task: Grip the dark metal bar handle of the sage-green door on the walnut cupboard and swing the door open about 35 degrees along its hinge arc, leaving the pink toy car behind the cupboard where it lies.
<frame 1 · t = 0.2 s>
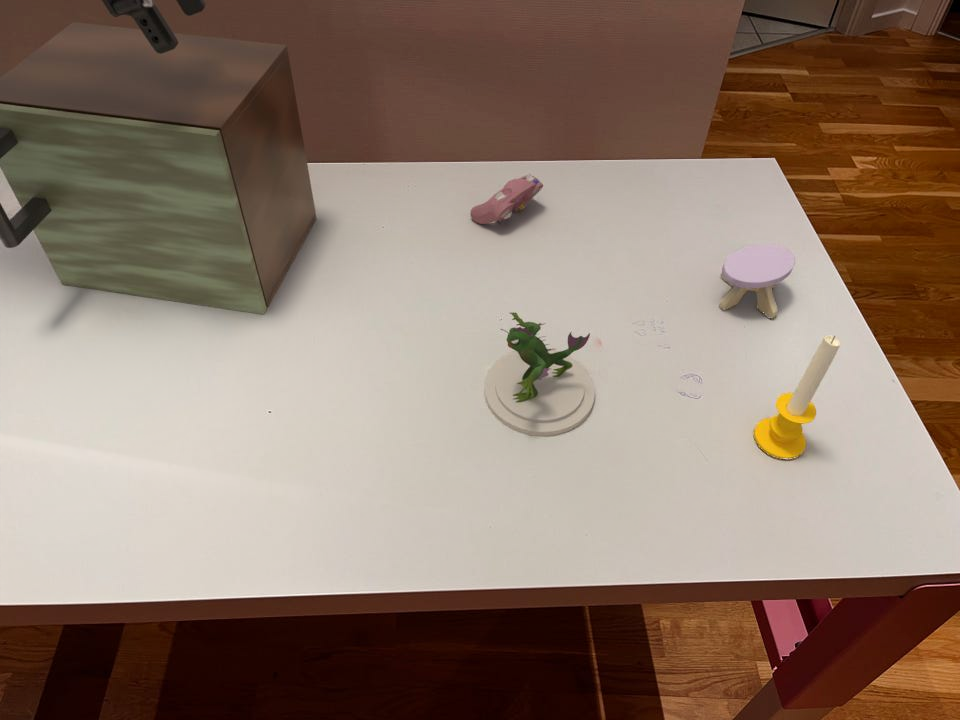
hand: (183, 30, 71), 30 cm above the table, tool tilted 20°, fingers open, 8 cm apart
candle: (778, 440, 77), on the table
toy table: (745, 298, 92), on the table
cupboard door: (115, 235, 79), point 12 cm above the table, hinge at 0.0°
pink toy car: (506, 215, 103), on the table
monster figurine: (538, 393, 81), on the table
cupboard: (198, 247, 96), on the table
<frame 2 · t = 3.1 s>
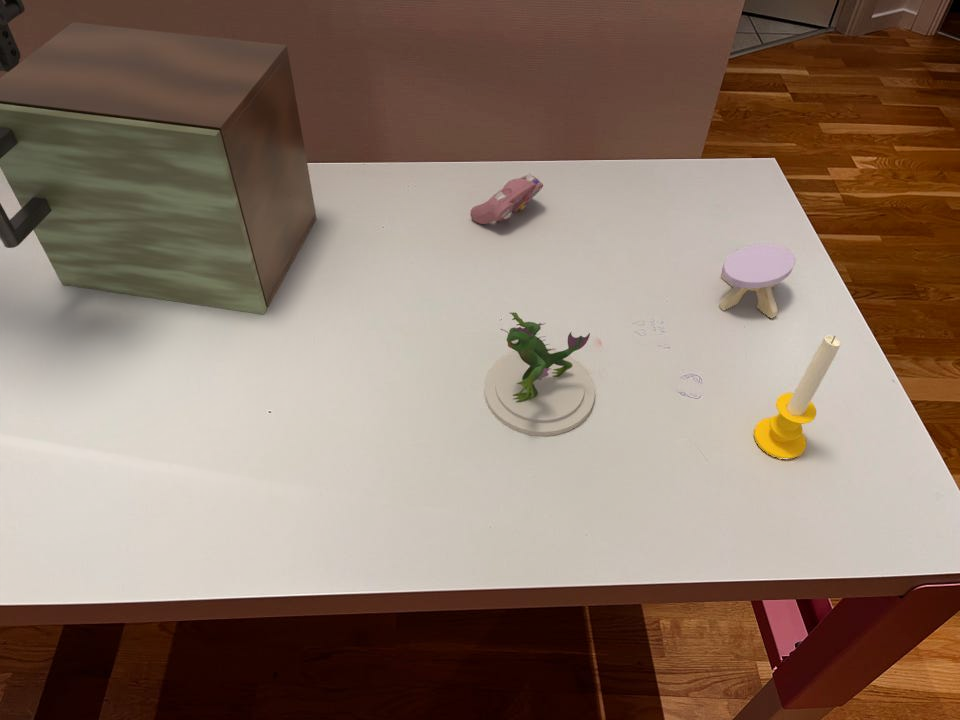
nothing on the table moved.
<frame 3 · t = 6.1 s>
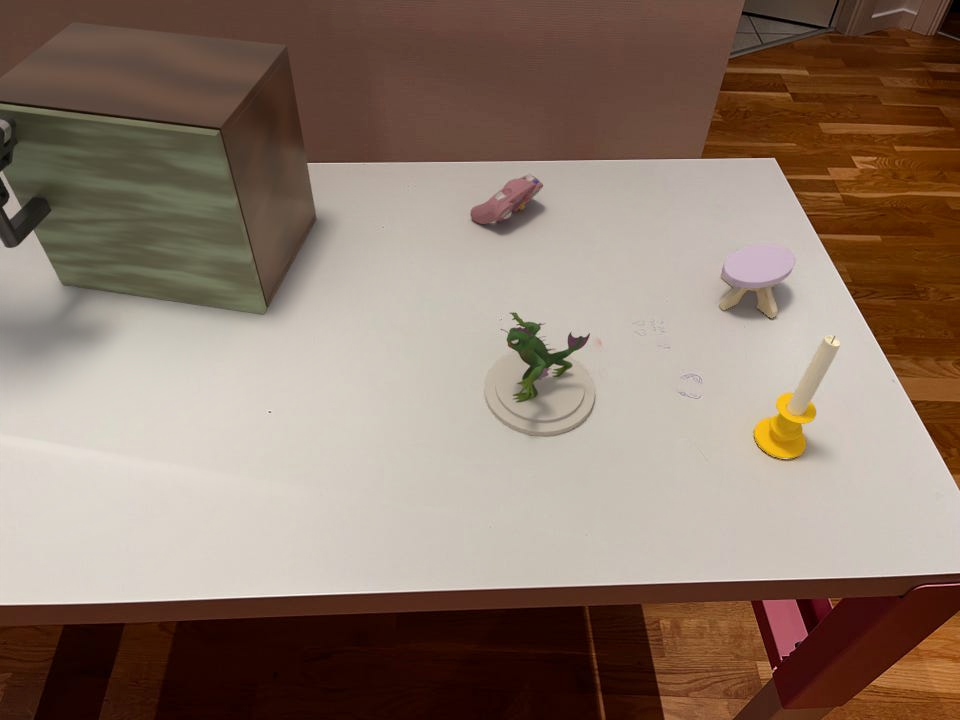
cupboard door: (115, 235, 79), point 12 cm above the table, hinge at 0.0°, touching gripper
everything else where it was.
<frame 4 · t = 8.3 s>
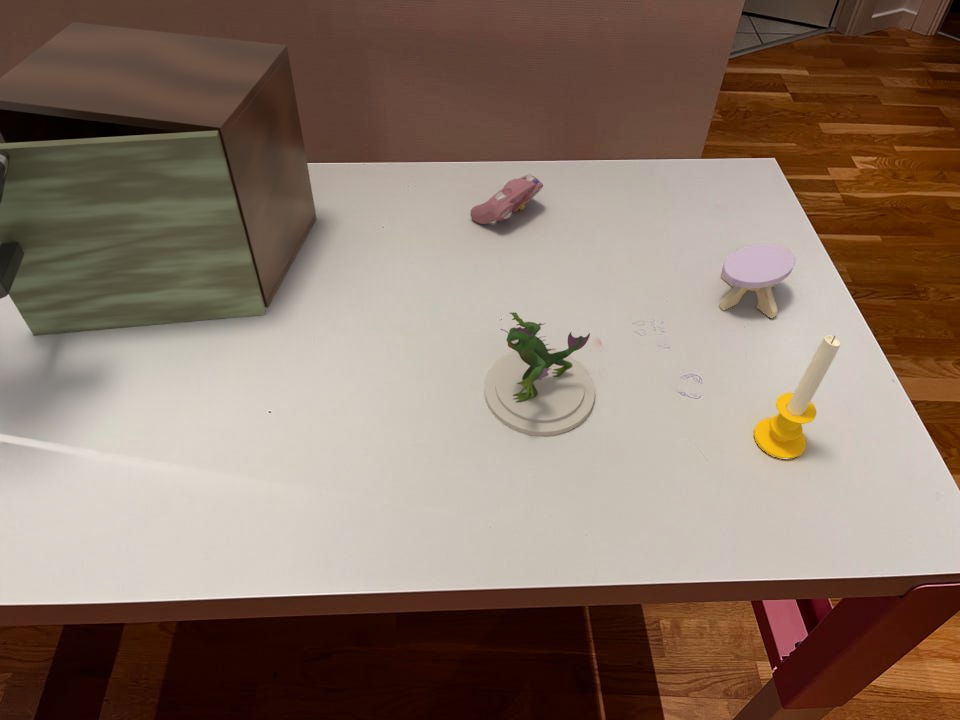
cupboard door: (112, 262, 76), point 12 cm above the table, hinge at 19.3°, touching gripper
everything else where it was.
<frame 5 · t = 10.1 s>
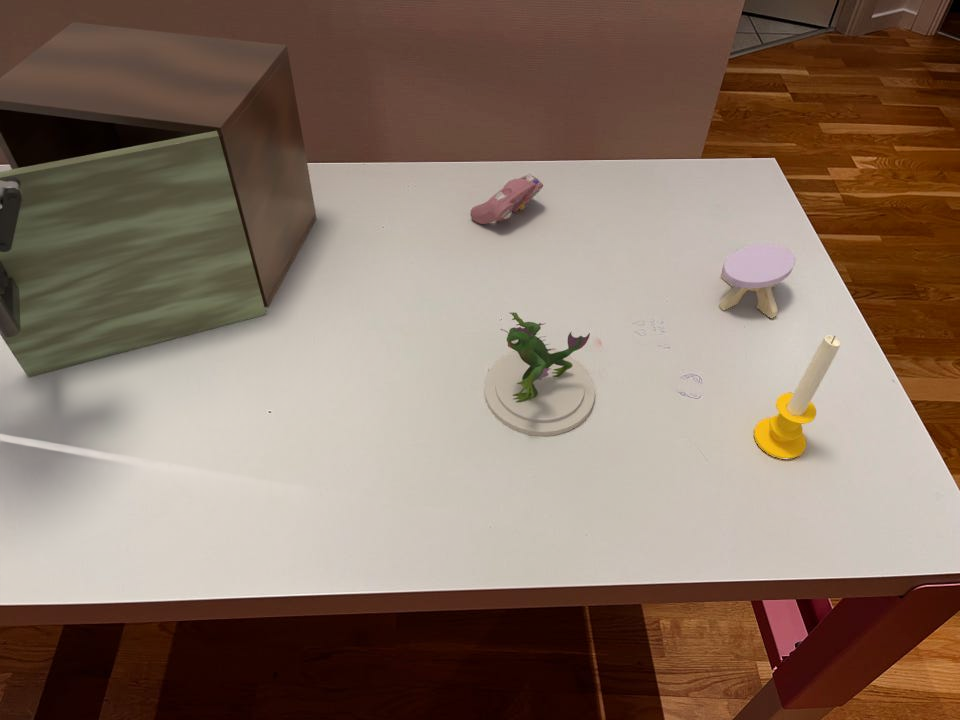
cupboard door: (119, 282, 74), point 12 cm above the table, hinge at 33.9°, touching gripper
everything else where it was.
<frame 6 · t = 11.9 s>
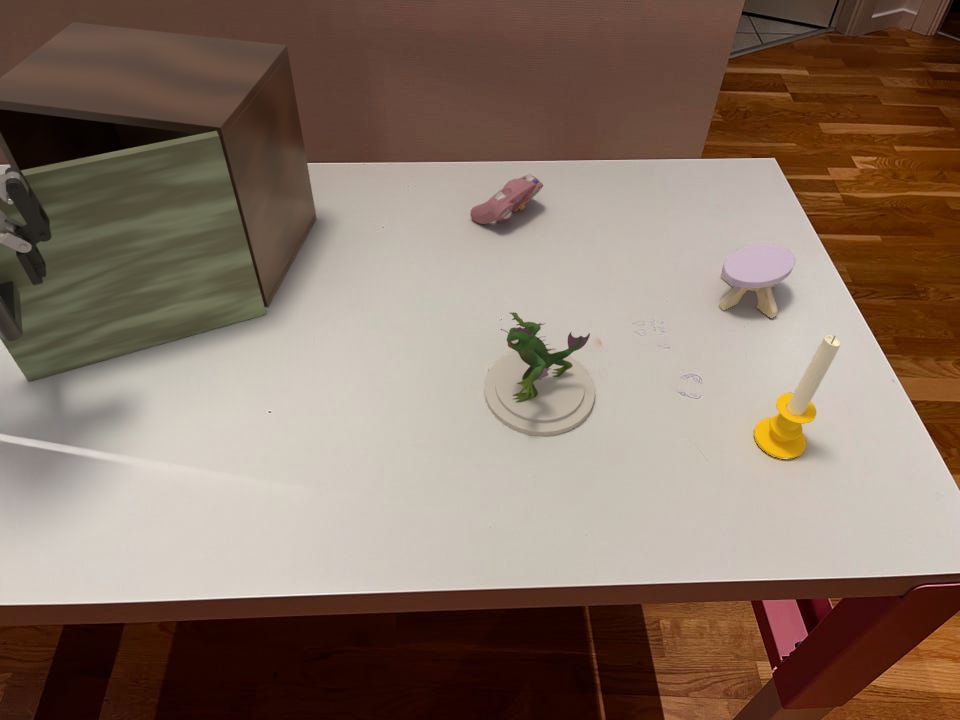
cupboard door: (121, 284, 74), point 12 cm above the table, hinge at 35.4°
everything else where it was.
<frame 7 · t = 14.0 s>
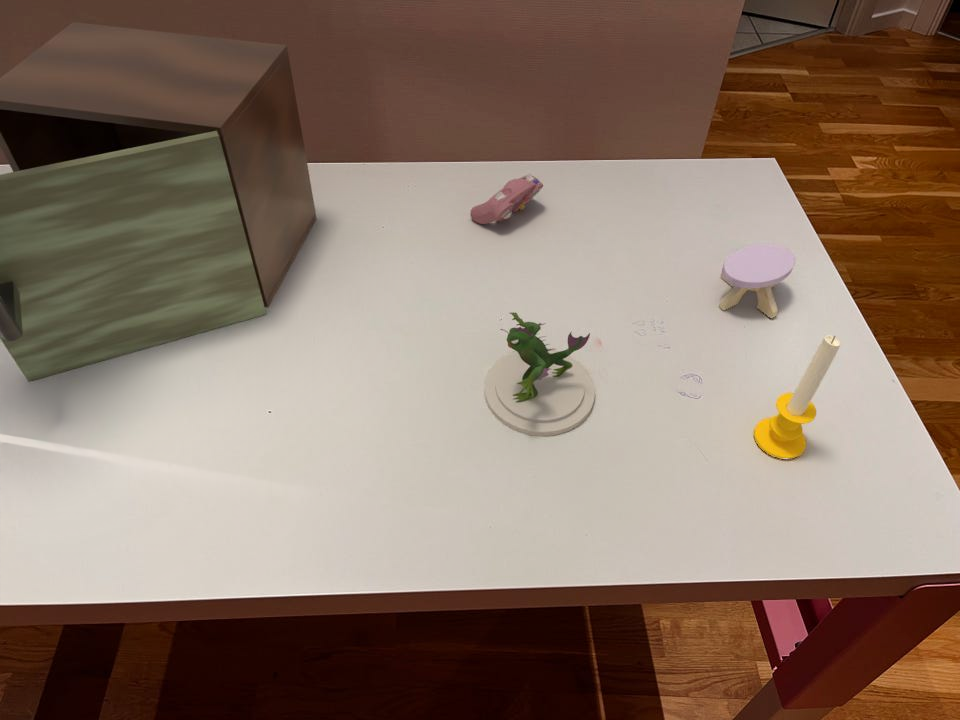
nothing on the table moved.
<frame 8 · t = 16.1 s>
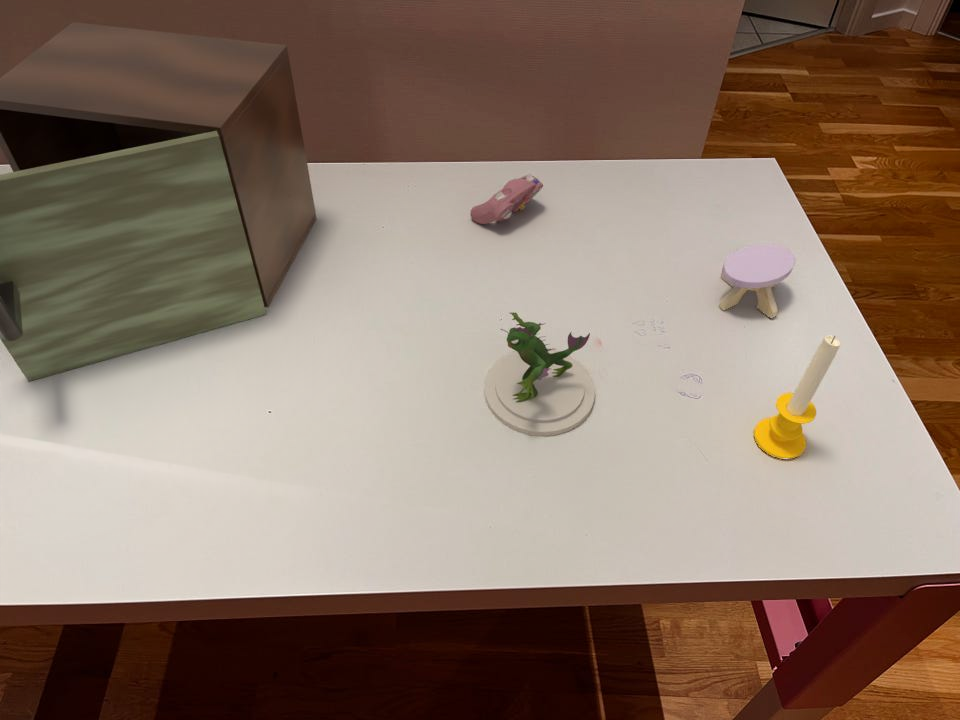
nothing on the table moved.
at the end: cupboard door at +35° (first picture: +0°); pink toy car moved 0.2 cm from its start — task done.
